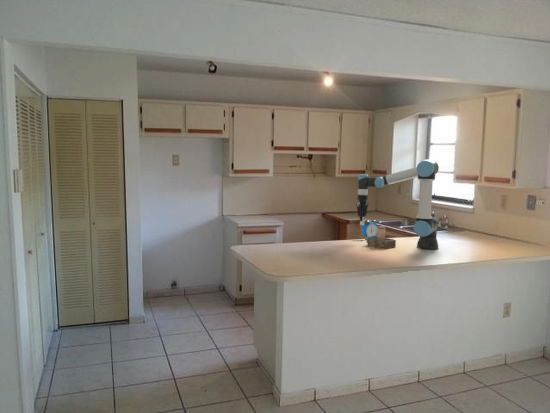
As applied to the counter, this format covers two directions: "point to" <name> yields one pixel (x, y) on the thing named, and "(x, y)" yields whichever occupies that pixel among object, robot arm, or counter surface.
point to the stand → (381, 244)
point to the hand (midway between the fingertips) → (361, 225)
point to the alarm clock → (369, 228)
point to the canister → (381, 233)
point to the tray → (376, 239)
